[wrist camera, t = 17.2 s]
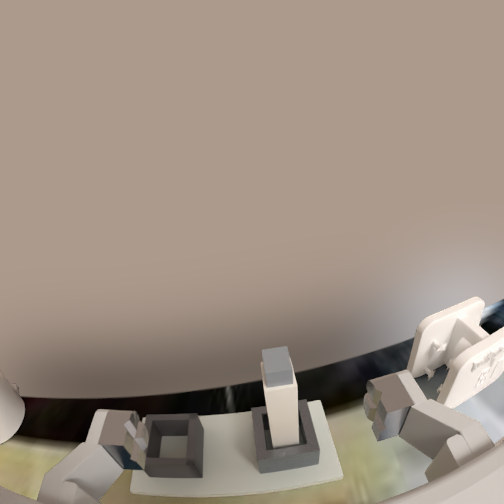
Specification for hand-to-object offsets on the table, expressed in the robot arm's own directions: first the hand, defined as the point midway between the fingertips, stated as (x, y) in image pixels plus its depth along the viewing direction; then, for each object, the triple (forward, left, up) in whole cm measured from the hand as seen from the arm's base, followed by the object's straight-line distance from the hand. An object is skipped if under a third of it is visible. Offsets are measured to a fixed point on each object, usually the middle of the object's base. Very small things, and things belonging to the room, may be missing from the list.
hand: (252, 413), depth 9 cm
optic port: (+2, +14, -27) cm, 30 cm away
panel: (-5, +14, -28) cm, 32 cm away
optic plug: (+2, +14, -27) cm, 31 cm away
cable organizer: (+30, +17, -28) cm, 45 cm away
